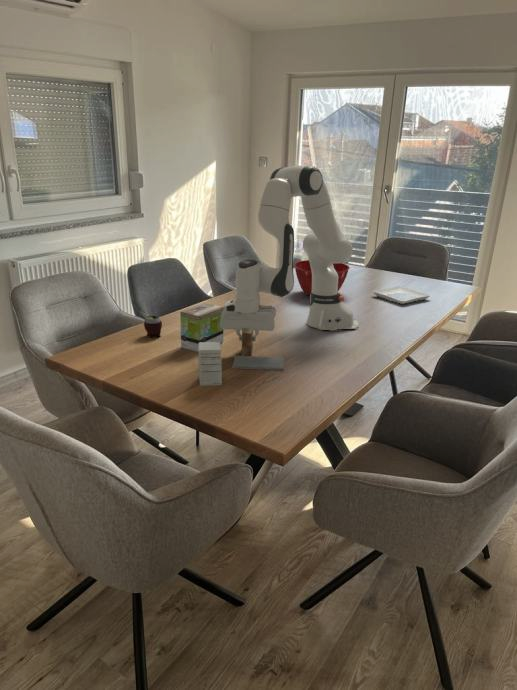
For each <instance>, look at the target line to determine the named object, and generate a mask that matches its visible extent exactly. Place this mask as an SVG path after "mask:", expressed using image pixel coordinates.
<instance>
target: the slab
mask: <svg viewBox="0 0 517 690" xmlns="http://www.w3.org/2000/svg"><path fill="white" fill-rule="evenodd" d="M241 335H242V341H241V356H253V355H252V354H253V349H254V341H252V335H254V330H252V329H245V328H242V330H241Z"/></svg>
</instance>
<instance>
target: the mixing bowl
mask: <svg viewBox="0 0 517 690" xmlns="http://www.w3.org/2000/svg"><path fill="white" fill-rule="evenodd" d="M333 266H334V269H335V270H336V272H337V274H338V291H337V292H338V293H339V291H340V290H341V288H342V286H343V284H344V282H345V280H346V279H347V275H348V272H349V270H350V268H351V267H350V265H348V264H346V263H333ZM293 268H294V270H295V274H296V277H297V282H298V284H299V287H300V289H301V290H302V292H303V293H305V294H306V295H307V294H308V295H307V296H309V295H310V293H311V291H312V271H311V266H310V262H309V259H307V260H300V261H297V262H295V263H293Z"/></svg>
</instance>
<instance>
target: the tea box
mask: <svg viewBox="0 0 517 690" xmlns="http://www.w3.org/2000/svg"><path fill="white" fill-rule="evenodd" d="M223 310H224V309H223V306H219V305H214V304H211V303H205V302H203V303H201V304H197V305H195V306H193V307H190V308H187V309H184V310H180V311H179V313H180V347H181V348H183V349H186V350H188V351H193V352H196V353H198V347H199V342H220V343H223V342H224V330H225V329H222V328H221V327H220V320H221V315H222V312H223Z"/></svg>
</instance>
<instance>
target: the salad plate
mask: <svg viewBox="0 0 517 690" xmlns="http://www.w3.org/2000/svg"><path fill="white" fill-rule="evenodd" d="M371 292H372V293H373V294H374V295H375V296H377V297H379V298H381V297H382V298H381V299H383V298H385V299H384V300H386V299H388V300H387V301H389V300H391V301H390V302H392V301H394V302H393V303H395V302H397V303H396V304H399V303H400V304H399V305H405V303H407V304H410V303H409V302H411V303H414V302H413V301H416V302H419V301H418V300H420V301H423V300H425V299H428V298H431V297H430V296H431V295H430V294H428V293H425V292H422V291H419V290H415V289H412V288H408V287H404V286H400V285H399V286H391V287H386V288H381V289H375V290H372V291H371ZM394 293H407V294H410V295H413V296H416V297H418V298H414V299H410V300H407V301H400V300H397V299H395V298H392V297H390V296H387V294H394Z"/></svg>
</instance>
